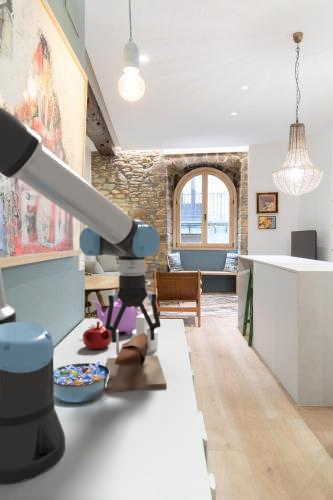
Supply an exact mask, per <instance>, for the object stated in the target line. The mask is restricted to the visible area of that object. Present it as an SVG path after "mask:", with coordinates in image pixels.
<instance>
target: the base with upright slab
mask: <svg viewBox="0 0 333 500" xmlns="http://www.w3.org/2000/svg"><path fill="white" fill-rule="evenodd" d="M147 313H148V315H149V317H150V319H151V321H152V323H154V314H153V311H147ZM147 328H150V327H149V325H148V323H147V321H146V319H145V317H144V315H143V313H142V314H141V313H139V316H137V317H136V329H135V330H132V331H131V332H132V335H131V336H132V338H134V337H135V336H137V335H139V334H142V333H144V334H146V335H147ZM132 338H131V339H132ZM158 339H159V338H158V329H157V328H155V330H154V340H152V341H151V352H154V351H156V350H158V347H159V343H158V342H159V341H158ZM146 353H148V350H147V352H146Z"/></svg>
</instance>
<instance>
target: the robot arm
mask: <svg viewBox="0 0 333 500" xmlns="http://www.w3.org/2000/svg"><path fill="white" fill-rule="evenodd" d="M0 174H1V175H3V176H5V177H6V178H7V179H14V178H15V179H18V180H20V181H21V182H23V183H24V184H25V185H27V186H28V187H30V188H31V189H33V190H34V191H36V192H37V193H39V195H41V196H43V197H44V198H46V199H47V200H49V202H52V203H53V204H54V205H55V206H57V207H59V208H60V209H62V210H63V211H64V212H66V213H67V214H69V215H70V216H72V217H73V218H74V219H76V220H77V221H79V222H80V223H82V224H83V225H85V226H86V227H85V228H83V229H82V230H81V232H80V234H79V238H78V239H79V247H80V250H81V252H82V254H83V255H85V256H88V257H92V256H93V257H99V256H110V257H111V256H113V257H118V273H119V274H120V275H118V292H117V293H109V294H108V297H107V298H108V303H109V304H108V307H109V309H108V315H107V320H106V326H105V327H104V329H106V330H110V332H112V335H111V342H112V343H113V344H114V343H116V344H115V346H116V347H115V348H116V354H115V355H117V356H118V354H119V352H120V339H119V338H120V335H119V334H120V332H119V330H116V329H117V327H118V325H119V322H120V320H121V318H122V316H123V313H124V311H125V309H126V307H132V306H134V307H135V308H140V312H141V311H142V313H143V315H144V317H145V319H146V321H147V323H148V325H149V327H150V328H147V350H148V352H147V353H148V354H150V353H151V352H152V351H151V341H152V340H154V330H155V329H157V328H160V327H161V325H162V324H161V321H160V316H159V312H158V306H157V294H156V292H147V289H146V275H145V272H146V258H149V257H152V256H153V255H155V254H156V253H157V252H158V250H159V247H160V242H161V241H160V240H161V239H160V238H161V237H160V233H159V231H158V230H157V229H156V227H154V226H153V225H150V224H145V223H144V221H142V220H141V219H134V218H132V217H130V215H128V214H127V213H125V212H124V211H123V210H122V209H120V208H119V207H118V206H117V205H116V204H114V203H113V202H112V201H111V200H109V199H108V198H107V197H106V196H105V195H103V194H102V193H101V192H100V191H98V190H97V189H96V188H95V187H94V186H92V185H91V184H90V182H89V183H88V181H86V180H85V179H84V178H83V177H81V176H80V175H79V174H77V173H76V172H75V171H74V170H73V169H71V168H70V166H68V165H67V164H66V163H64V161H62V160H61V159H59V158H58V157H57V156H56V155H54V154H53V153H52V152H51V151H50V150H49V149H47V148H46V147H45V146H43V142H42V138H41V136H40V135H39V134H38V133H36V131H34V130H33V129H32V128H30V127H29V125H26V124H25V123H24V122H22V121H21V120H20V119H19V118H17V117H16V116H15V115H13V114H12V113H11V112H9V111H7V110H6V109H4V108H2V107H0ZM146 298H148V300H149V301H150V304H151V308H152V309H151V310H152V312H153V320H154V322H153V323H152V321H151V319H150V317H149V315H148V313H147V312H148V311H147V309H146V306H145V305H144V301H145V299H146ZM118 299H120V300H121V301H122V305H121V308H120V310H119V312H118V315H117V317H116V319H115V321H114V324H113V325H110V323H111V317H112V312H113V306H114V303H115V302H117V300H118ZM138 306H139V307H138ZM54 354H55V349H54V344H53V336H52V333H51V332H50V330H49V329H48V327H46V326H43V325H42V324H40V323H34V322H26V321H17V313H16V309H15V308H14V307H12V306H10V305H9V304H7V302H6V294H5V287H4V280H3V274H2V267H1V265H0V484H12V483H18V482H22V481H26V480H29V479H31V478H34V477H35V478H36V477H38V476H39V475H42V474H43V473H45V472H47V471H48V470H49V469H51V468H52V467H54V466H55V465H56V464H57V463H59V461H60V460H61V459H62V458H63V456H64V454H65V451H66V436H65V435H66V434H65V431H64V429H63V426H62V424H61V421H60V418H59V416H58V414H57V410H56V408H55V380H54V377H55V376H54V375H55V374H54ZM151 354H152V353H151Z"/></svg>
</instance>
